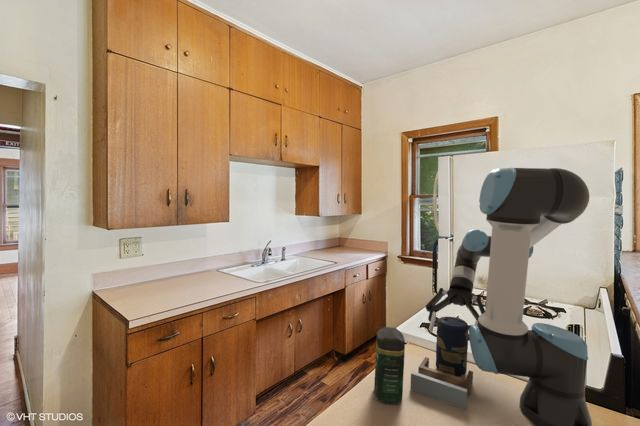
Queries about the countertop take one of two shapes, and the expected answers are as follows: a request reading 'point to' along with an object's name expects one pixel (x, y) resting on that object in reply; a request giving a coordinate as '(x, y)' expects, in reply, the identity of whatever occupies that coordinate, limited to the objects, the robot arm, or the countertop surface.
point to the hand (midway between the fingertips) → (451, 335)
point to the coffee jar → (389, 365)
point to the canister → (452, 346)
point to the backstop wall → (439, 390)
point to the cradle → (446, 376)
